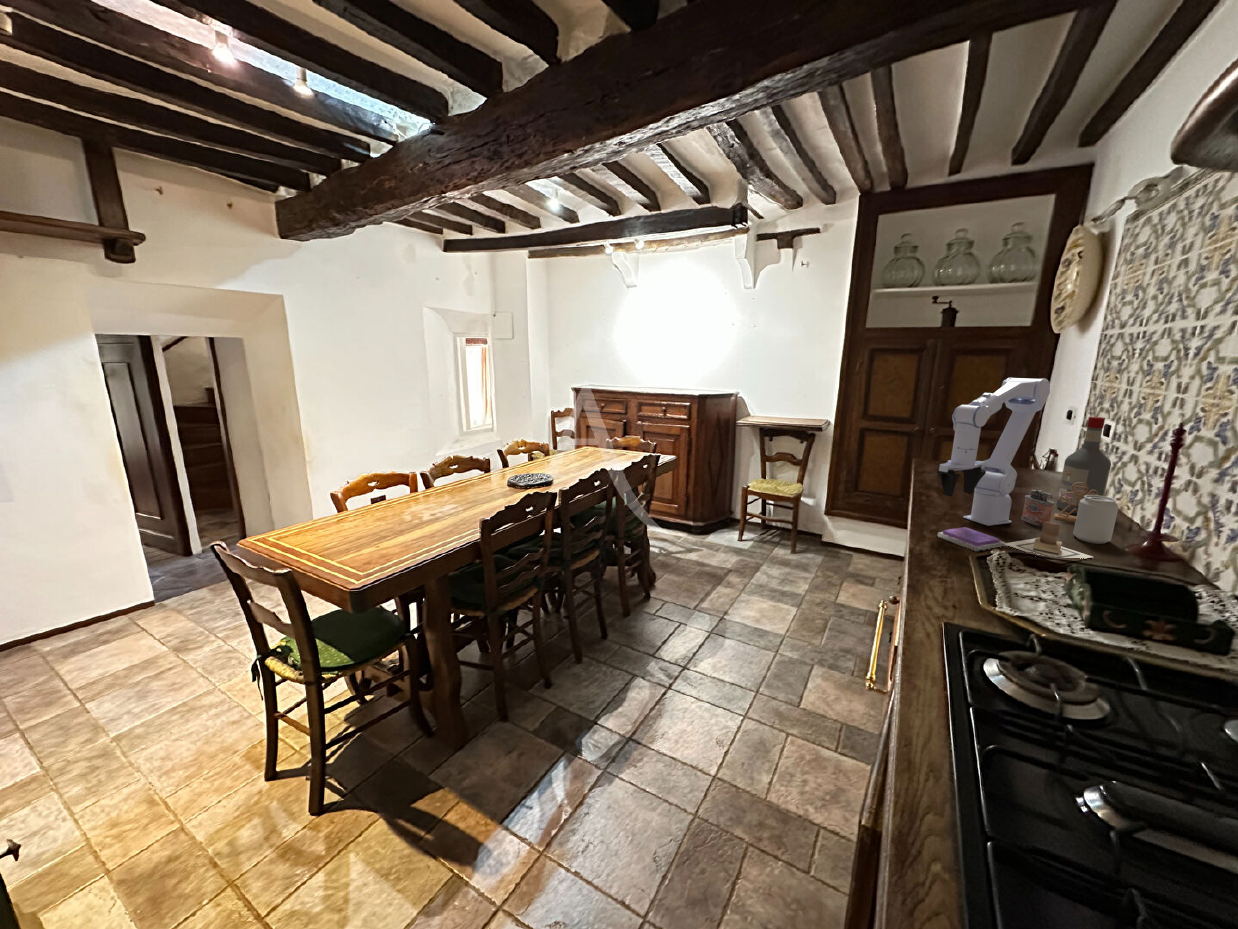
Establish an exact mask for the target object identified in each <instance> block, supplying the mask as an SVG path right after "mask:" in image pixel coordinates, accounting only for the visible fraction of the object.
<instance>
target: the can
mask: <svg viewBox="0 0 1238 929" xmlns="http://www.w3.org/2000/svg"><path fill="white" fill-rule="evenodd" d="M1084 497H1085V498H1083V499H1082V500H1080V503H1079V508H1078V512H1077V514H1076V516H1077V517H1076V522H1074V528H1073V533H1072V534H1073V535H1074V536H1075V537H1076V539H1077V540H1080V541H1083V542H1086V543H1092V544H1101V545H1102V544H1106V543H1108V542H1111V541H1112V538H1113V534H1114V529H1115V524H1116V520H1117V516H1118V511H1119V507H1120V506H1119V504H1118V503H1116V502H1117V499H1115V498H1112V497H1109V496H1105V495H1104V496H1099V495H1085V496H1084Z"/></svg>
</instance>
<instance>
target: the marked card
mask: <svg viewBox="0 0 1238 929" xmlns="http://www.w3.org/2000/svg"><path fill="white" fill-rule="evenodd" d="M1035 539H1036V537H1035V538H1030V539H1022V540H1016V541H1012V542H1005V546H1004V547H1008V546H1010V547H1013V548H1016V549H1019V550H1022V551H1025V552H1033V553H1036V554H1037V555H1042V556H1048V557H1050V556H1054V557H1055V558H1080V559H1081V558H1082V559H1083V558H1084V559H1087V558H1092V559H1094V556H1092V555H1088V554H1086V553H1082V552H1080V551H1077V550H1073V549H1070V548H1067V547H1065V546H1062V545H1061V548H1060V552H1059V554H1058V555H1055V554H1050V553H1045V552H1041V551H1036V550H1033V549H1034V548H1033V546H1034V542H1035ZM1010 547H1009V548H1010ZM1013 548H1012V549H1013ZM1016 549H1015V550H1016ZM1019 550H1018V551H1019ZM1022 551H1021V552H1022ZM1051 558H1052V557H1051ZM1087 560H1088V559H1087Z"/></svg>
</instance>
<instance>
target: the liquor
mask: <svg viewBox="0 0 1238 929" xmlns="http://www.w3.org/2000/svg"><path fill="white" fill-rule="evenodd" d="M1105 422H1106V417H1101V416H1089V417H1088V420H1087V423H1086V424H1087V425H1086V427H1087V428H1086V431H1085V436H1084V441H1083V444H1082V445H1081V447H1080V448H1078V449H1077V450H1076V451H1074V452H1073V453H1071V454H1069V455H1068V456H1067V457H1066V458H1065V459H1064V463H1063V469H1062V473H1061V478H1060V484H1059V490H1058V495H1057V498H1056V508H1057V509H1060V510H1061V511H1062V510H1064V509H1065V508H1066V507H1067V506H1068V505H1069V504H1070V500H1071V499H1068V501H1067V502H1066V503H1062V502H1060V500H1061V501H1063V502H1065V501H1066V500H1064V499H1062V498H1061V499H1060V500H1059V498H1060V496H1061V495H1062V494H1064V493H1067V492H1073V490H1074V491H1075V492H1077V491H1083V490H1085V491H1086V490H1087V489H1082V488H1078V489H1077V488H1076V487H1073V490H1072V485H1073V484H1074V483H1077V482H1083V483H1085V484H1087V486H1088V488H1089V489H1088V491H1087V492H1086V493H1084V494H1088V493H1089V491H1090V490H1096V491H1097V492H1098V495H1099V496H1105V494H1106V490H1107V484H1108V480H1109V475H1110V471H1111V467H1112V463H1111V460H1110V458H1109V457H1108V456H1107V455H1106V454H1105V453H1104V452H1103V450H1101V449H1100V448H1101V445H1100V443H1101V438H1102V437H1101V436H1102V432H1103V429H1104V426H1105ZM1085 484H1082V483H1078V484H1075V485H1074V486H1079V487H1082V486H1083V487H1085V488H1087V486H1086V485H1085ZM1075 489H1076V490H1077V491H1076V490H1075ZM1085 491H1084V492H1085ZM1096 491H1091V493H1093V494H1097V492H1096ZM1081 493H1083V492H1080V493H1079V495H1080V494H1081ZM1077 494H1078V492H1077ZM1074 495H1075V494H1073V493H1068V494H1065V495H1063V496H1062V497H1063V498H1066V499H1067V498H1072V502H1071V503H1072V504H1073V503H1074V504H1076V501H1077V497H1078V496H1074ZM1089 495H1092V494H1089ZM1084 496H1085V495H1083V496H1082V497H1080V496H1079V499H1078V502H1079V503H1080V500H1082V499H1083V498H1085V497H1084ZM1079 503H1077V504H1078V505H1079ZM1078 505H1077V506H1076V505H1075V506H1074V505H1070V506H1069V507H1068V508H1067V509H1066V510H1065V512H1067V513H1068V514H1069V513H1070V512H1071V511H1072V510H1074V509H1075V508H1076V509H1077V511H1078V508H1079V506H1078ZM1077 511H1076V510H1075V511H1074V512H1072V513H1071V514H1076V515H1077Z"/></svg>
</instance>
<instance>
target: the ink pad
mask: <svg viewBox="0 0 1238 929" xmlns="http://www.w3.org/2000/svg"><path fill="white" fill-rule="evenodd" d="M937 536H938V537H937V538H940V539H942V540H944V541H948V542H951V543H953V544H955V545H958V546H960V547H963V548H965V547H966V548H965V549H968V548H969V549H968V550H970V549H971V551H973V550H974V552H981V551H980V550H982V551H987V550H986V549H988V550H992V549H991V548H994V549H996V548H995V547H1000V548H1002V547H1001V546H1004V547H1006V546H1005V543H1006V542H1005V541H1002V540H1001V538H998V537H995V536H992V535H990V534H986V533H984V532H980V531H978V530H974V529H972V528H969V527H966V526H965V527H958V528H957V527H956V528H949V529H945V530H943V531H939V532H937Z"/></svg>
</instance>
